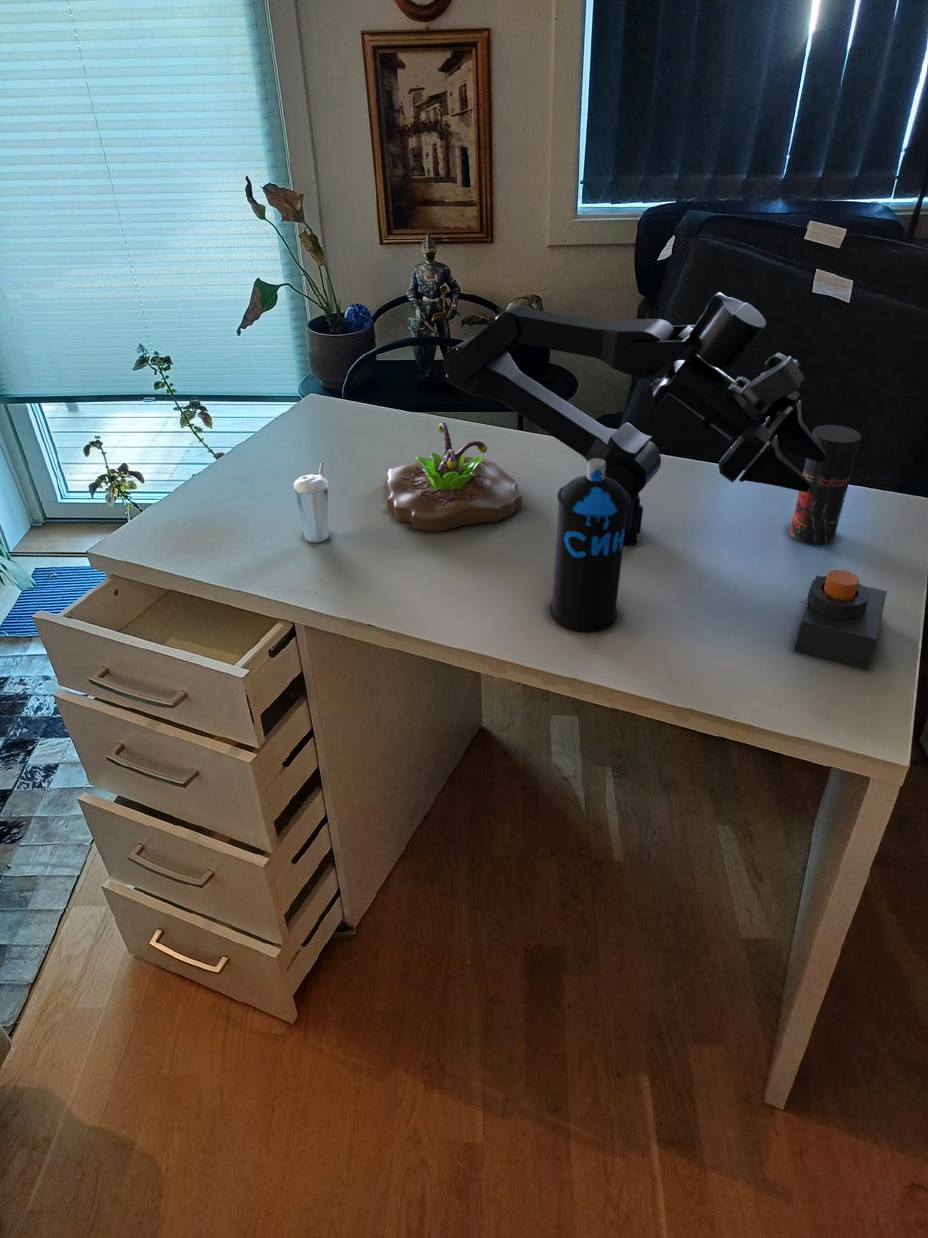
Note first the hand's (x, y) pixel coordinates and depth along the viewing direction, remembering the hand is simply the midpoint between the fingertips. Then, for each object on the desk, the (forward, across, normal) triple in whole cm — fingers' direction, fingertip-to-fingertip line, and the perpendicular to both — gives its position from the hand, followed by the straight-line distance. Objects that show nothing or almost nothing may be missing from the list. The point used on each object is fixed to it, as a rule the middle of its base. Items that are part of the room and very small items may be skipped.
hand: (817, 473), depth 108 cm
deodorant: (+7, +13, +13) cm, 20 cm away
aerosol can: (-11, -20, +23) cm, 33 cm away
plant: (-38, -1, +36) cm, 52 cm away
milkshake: (-47, -21, +41) cm, 65 cm away
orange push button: (+10, -10, +5) cm, 15 cm away
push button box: (+13, -10, +10) cm, 20 cm away
